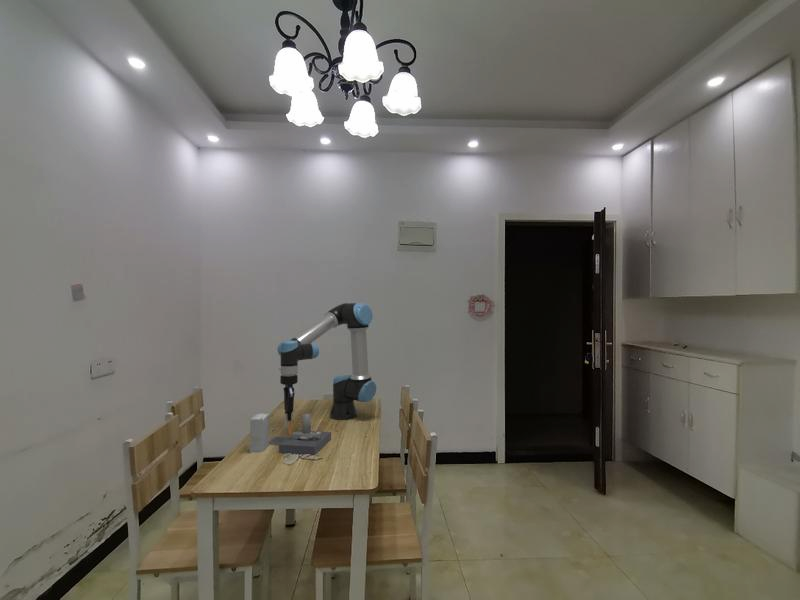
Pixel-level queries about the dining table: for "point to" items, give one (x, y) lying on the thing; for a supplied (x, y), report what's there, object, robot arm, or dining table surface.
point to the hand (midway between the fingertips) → (288, 426)
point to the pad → (277, 440)
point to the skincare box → (259, 433)
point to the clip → (291, 432)
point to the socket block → (304, 444)
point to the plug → (306, 426)
